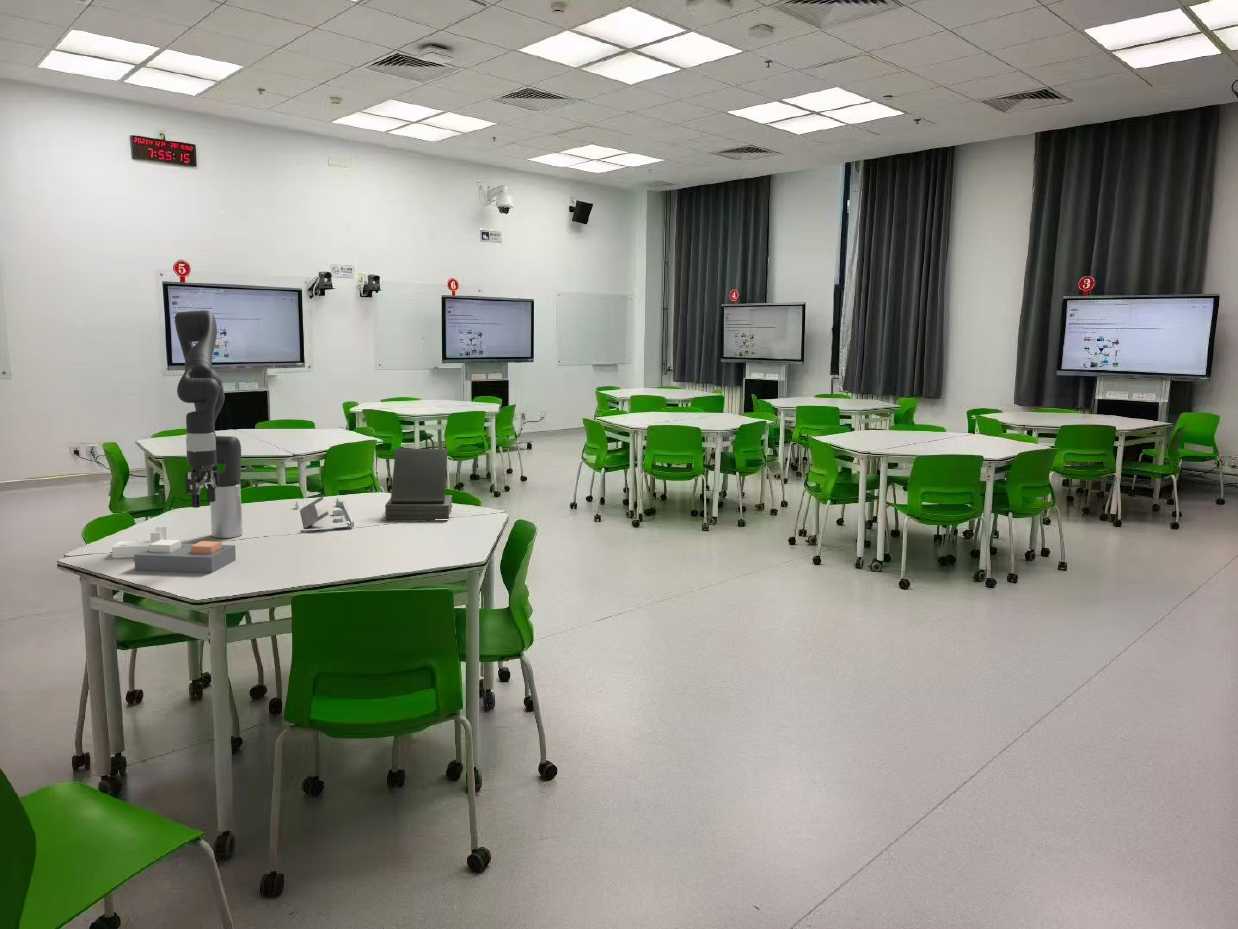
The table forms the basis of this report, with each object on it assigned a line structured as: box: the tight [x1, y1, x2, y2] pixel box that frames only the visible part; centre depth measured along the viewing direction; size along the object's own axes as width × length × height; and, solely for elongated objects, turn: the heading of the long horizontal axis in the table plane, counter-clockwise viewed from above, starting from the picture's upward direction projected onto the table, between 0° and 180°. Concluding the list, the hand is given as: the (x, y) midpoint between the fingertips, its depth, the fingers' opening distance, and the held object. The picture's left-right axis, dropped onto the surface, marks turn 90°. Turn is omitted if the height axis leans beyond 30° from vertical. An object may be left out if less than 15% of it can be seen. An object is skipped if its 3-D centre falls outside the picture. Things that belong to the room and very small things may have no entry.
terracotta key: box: [190, 540, 223, 554], centre depth 241 cm, size 6×6×4 cm
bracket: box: [111, 526, 167, 559], centre depth 252 cm, size 13×7×8 cm, turn 106°
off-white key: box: [149, 539, 182, 553], centre depth 241 cm, size 6×6×4 cm
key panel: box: [133, 542, 237, 574], centre depth 242 cm, size 14×22×4 cm, turn 89°
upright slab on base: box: [384, 447, 453, 522], centre depth 316 cm, size 23×20×25 cm
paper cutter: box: [294, 495, 355, 531], centre depth 307 cm, size 18×45×6 cm, turn 23°
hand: (203, 504), depth 239 cm, fingers open, 8 cm apart
